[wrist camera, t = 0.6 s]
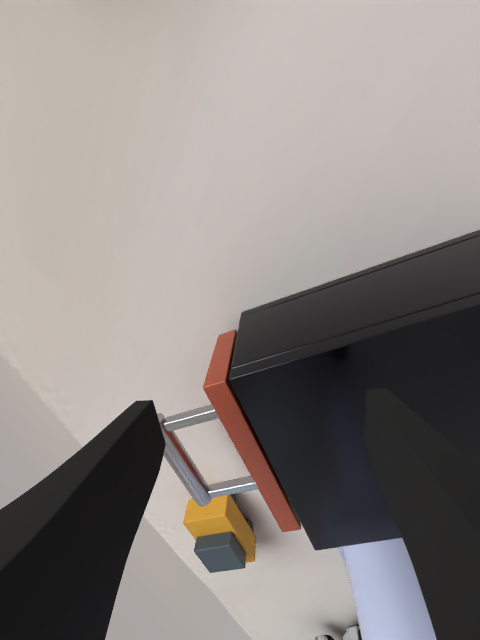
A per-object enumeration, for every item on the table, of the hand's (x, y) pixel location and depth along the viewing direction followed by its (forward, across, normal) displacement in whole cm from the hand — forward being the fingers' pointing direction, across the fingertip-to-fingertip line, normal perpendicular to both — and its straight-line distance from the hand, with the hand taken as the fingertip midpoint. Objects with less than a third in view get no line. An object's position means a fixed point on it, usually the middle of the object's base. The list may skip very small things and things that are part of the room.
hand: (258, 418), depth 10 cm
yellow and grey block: (+10, +5, +20) cm, 22 cm away
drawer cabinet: (+10, -8, +4) cm, 13 cm away
